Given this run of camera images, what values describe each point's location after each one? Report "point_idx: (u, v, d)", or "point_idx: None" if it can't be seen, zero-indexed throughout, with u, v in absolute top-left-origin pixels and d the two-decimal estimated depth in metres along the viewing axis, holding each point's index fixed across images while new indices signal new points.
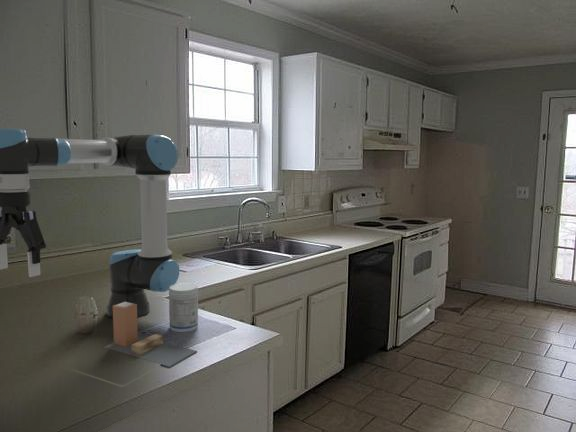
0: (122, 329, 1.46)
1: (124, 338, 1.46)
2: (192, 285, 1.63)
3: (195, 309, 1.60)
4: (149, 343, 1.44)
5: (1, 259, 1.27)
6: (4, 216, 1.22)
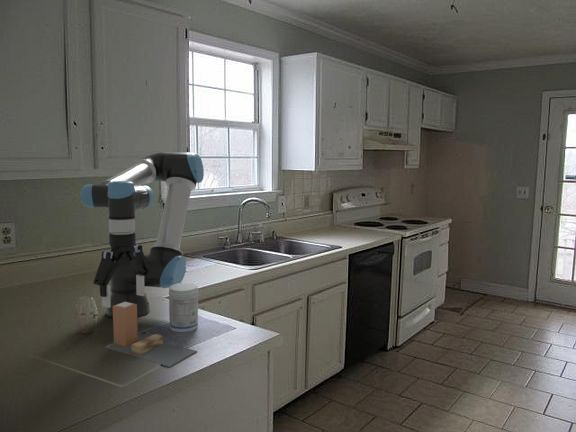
0: (122, 329, 1.46)
1: (124, 338, 1.46)
2: (192, 285, 1.63)
3: (195, 309, 1.60)
4: (149, 343, 1.44)
5: (138, 287, 1.53)
6: None
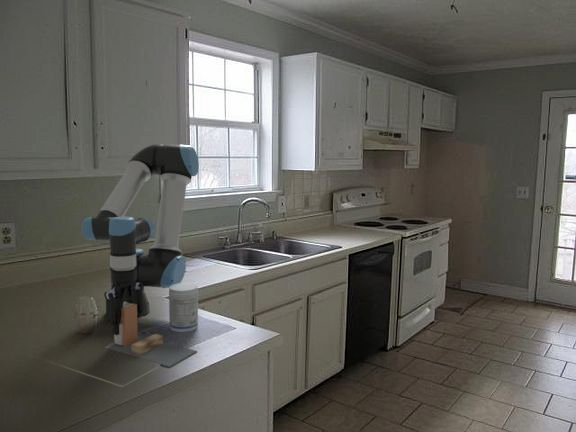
0: (122, 329, 1.46)
1: (124, 338, 1.46)
2: (192, 285, 1.63)
3: (195, 309, 1.60)
4: (149, 343, 1.44)
5: None
6: None
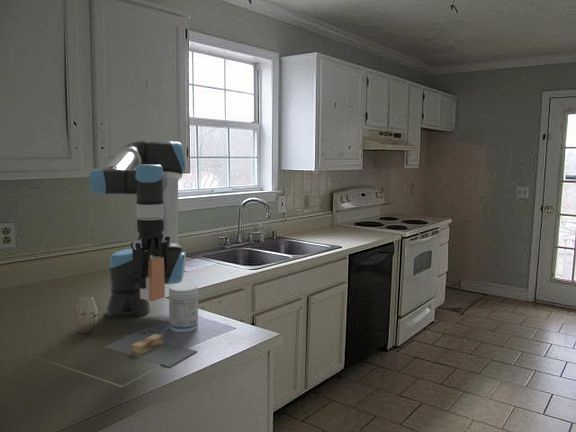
0: None
1: (151, 292, 1.39)
2: (192, 285, 1.63)
3: (195, 309, 1.60)
4: (149, 343, 1.44)
5: None
6: None
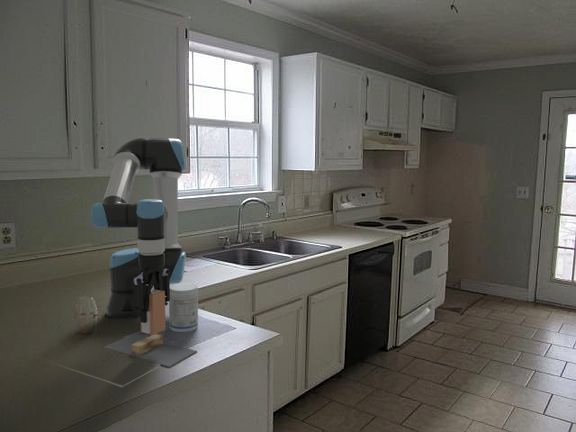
0: None
1: (152, 326, 1.40)
2: (192, 285, 1.63)
3: (195, 309, 1.60)
4: (149, 343, 1.44)
5: None
6: None
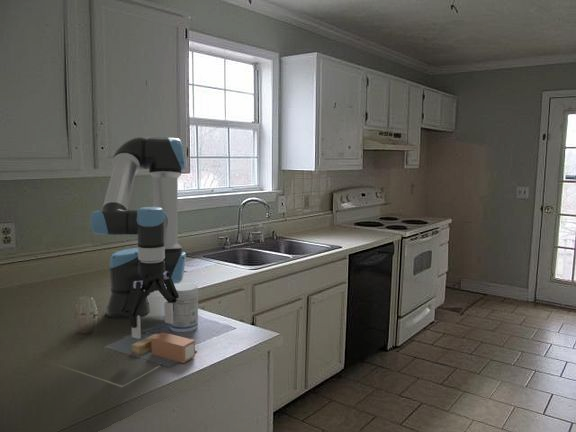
0: (164, 353, 1.39)
1: (158, 354, 1.40)
2: (192, 285, 1.63)
3: (195, 309, 1.60)
4: (149, 343, 1.44)
5: (167, 314, 1.49)
6: None
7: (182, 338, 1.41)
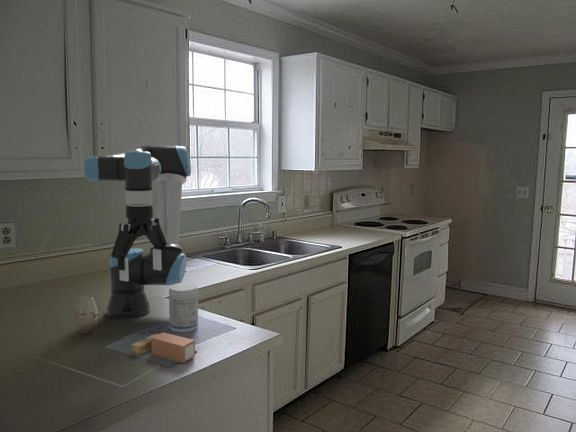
0: (164, 353, 1.39)
1: (158, 354, 1.40)
2: (192, 285, 1.63)
3: (195, 309, 1.60)
4: (149, 343, 1.44)
5: (155, 261, 1.49)
6: None
7: (182, 338, 1.41)
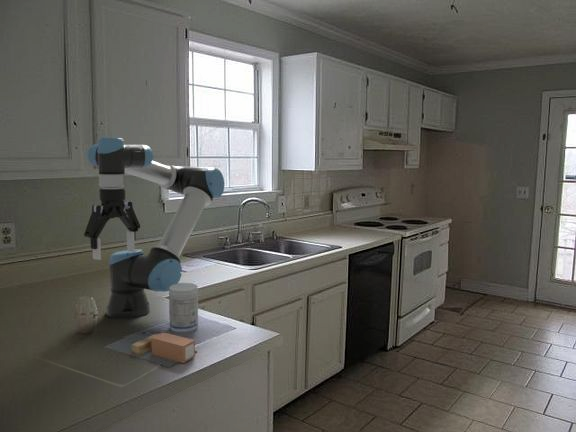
0: (164, 353, 1.39)
1: (158, 354, 1.40)
2: (192, 285, 1.63)
3: (195, 309, 1.60)
4: (149, 343, 1.44)
5: (129, 243, 1.57)
6: None
7: (182, 338, 1.41)
